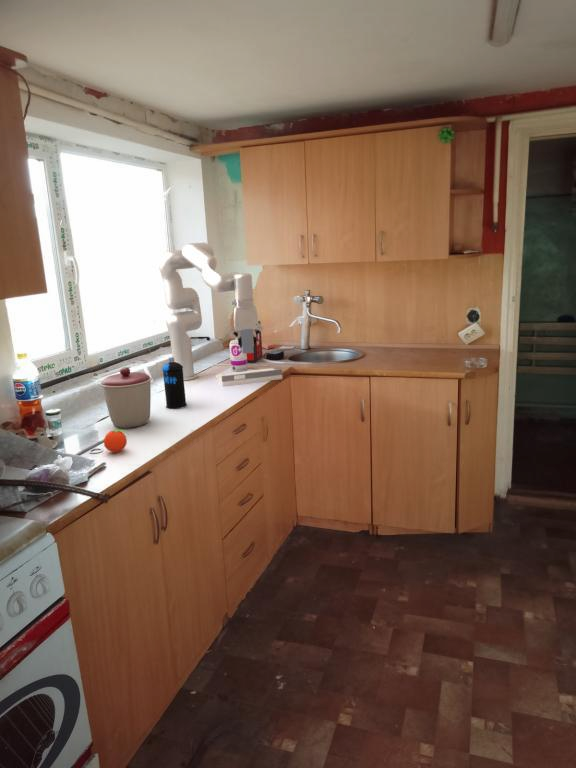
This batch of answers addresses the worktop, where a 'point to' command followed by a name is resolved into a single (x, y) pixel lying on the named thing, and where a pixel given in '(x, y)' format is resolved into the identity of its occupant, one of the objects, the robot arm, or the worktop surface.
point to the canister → (128, 398)
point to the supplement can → (237, 357)
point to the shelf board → (249, 376)
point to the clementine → (115, 441)
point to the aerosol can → (174, 385)
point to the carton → (247, 341)
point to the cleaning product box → (255, 350)
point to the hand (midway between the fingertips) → (247, 345)
